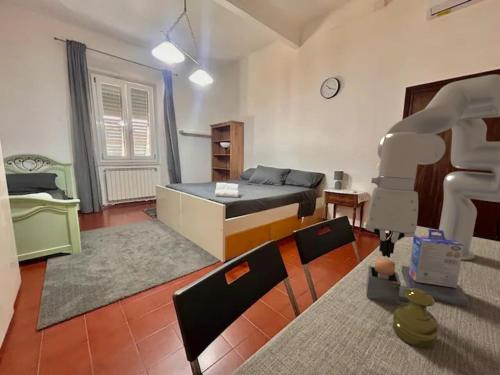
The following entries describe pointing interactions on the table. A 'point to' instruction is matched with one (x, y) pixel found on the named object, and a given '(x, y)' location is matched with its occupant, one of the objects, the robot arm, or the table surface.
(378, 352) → the table surface
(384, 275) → the brown oval egg shape
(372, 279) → the frame
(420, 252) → the ink cartridge box
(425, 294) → the olive green swirled figurine
